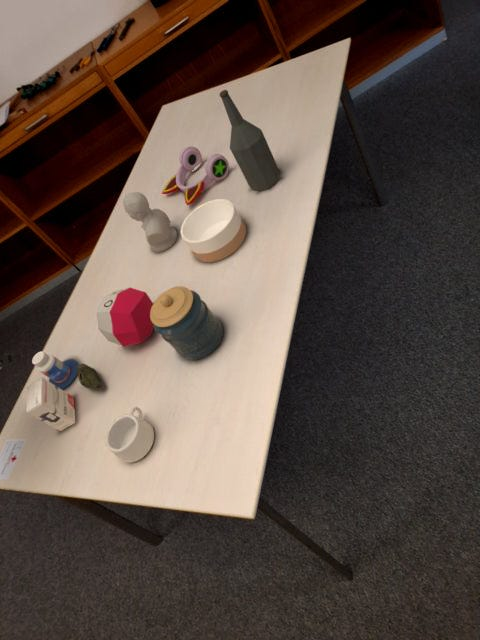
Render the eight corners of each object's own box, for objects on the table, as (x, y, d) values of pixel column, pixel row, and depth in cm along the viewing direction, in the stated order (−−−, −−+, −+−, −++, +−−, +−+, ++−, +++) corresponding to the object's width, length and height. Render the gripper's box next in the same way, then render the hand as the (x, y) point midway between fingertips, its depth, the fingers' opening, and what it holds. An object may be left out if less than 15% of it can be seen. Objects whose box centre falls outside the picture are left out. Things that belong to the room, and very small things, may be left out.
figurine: (152, 259, 140) (114, 215, 126) (152, 234, 148) (116, 190, 134) (178, 247, 138) (142, 201, 124) (176, 223, 146) (143, 176, 132)
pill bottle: (54, 386, 123) (28, 369, 116) (56, 371, 127) (30, 354, 120) (70, 378, 123) (44, 361, 116) (71, 363, 126) (46, 345, 119)
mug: (149, 464, 96) (132, 454, 91) (114, 463, 100) (97, 454, 96) (162, 412, 102) (148, 401, 98) (129, 413, 107) (114, 403, 102)
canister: (219, 309, 114) (185, 265, 101) (228, 348, 105) (191, 304, 93) (176, 330, 116) (137, 289, 104) (181, 369, 108) (139, 330, 95)
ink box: (59, 405, 119) (26, 385, 111) (74, 396, 118) (42, 376, 110) (60, 432, 113) (24, 413, 105) (76, 422, 113) (41, 403, 104)
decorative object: (132, 311, 105) (78, 309, 109) (148, 358, 114) (97, 354, 118) (156, 278, 117) (106, 277, 121) (169, 323, 125) (122, 321, 129)
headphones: (224, 149, 144) (178, 184, 139) (234, 176, 151) (190, 209, 146) (192, 141, 157) (149, 172, 152) (203, 165, 164) (161, 196, 159)
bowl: (237, 210, 135) (225, 189, 129) (253, 241, 124) (241, 220, 118) (189, 239, 138) (175, 219, 132) (201, 272, 126) (186, 252, 120)
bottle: (270, 166, 142) (229, 77, 120) (286, 175, 135) (246, 83, 114) (245, 185, 142) (200, 99, 120) (260, 196, 135) (215, 107, 113)
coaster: (48, 396, 123) (47, 396, 123) (52, 368, 130) (50, 367, 129) (77, 383, 121) (76, 382, 121) (80, 355, 128) (78, 354, 127)
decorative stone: (75, 393, 119) (62, 385, 115) (86, 368, 123) (74, 359, 119) (105, 394, 114) (93, 385, 110) (116, 368, 118) (104, 358, 114)
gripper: (-35, 353, 92) (24, 338, 107) (-81, 367, 97) (-18, 351, 112) (-23, 387, 93) (34, 367, 108) (-69, 400, 97) (-8, 379, 113)
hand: (7, 359), depth 110 cm, fingers open, 8 cm apart
